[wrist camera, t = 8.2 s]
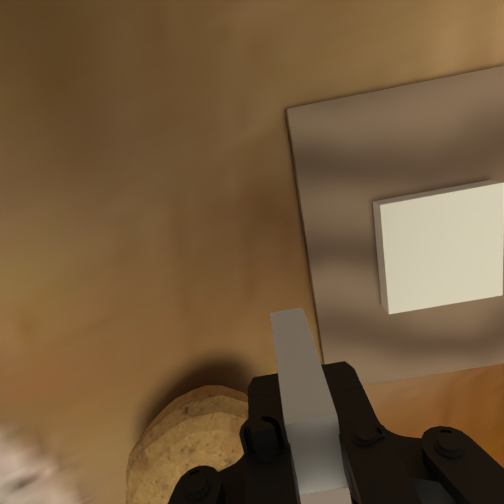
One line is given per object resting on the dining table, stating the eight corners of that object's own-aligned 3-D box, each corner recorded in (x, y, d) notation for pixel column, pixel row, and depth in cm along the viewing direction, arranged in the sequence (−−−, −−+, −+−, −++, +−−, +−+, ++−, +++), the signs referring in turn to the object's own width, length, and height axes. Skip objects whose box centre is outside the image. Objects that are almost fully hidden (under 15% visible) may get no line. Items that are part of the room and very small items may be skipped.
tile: (380, 205, 24) (504, 182, 23) (371, 201, 25) (488, 179, 25) (388, 314, 26) (502, 295, 25) (380, 304, 27) (487, 286, 27)
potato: (293, 384, 31) (308, 464, 23) (216, 493, 34) (206, 593, 27) (191, 334, 29) (171, 402, 22) (121, 453, 33) (82, 547, 25)
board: (285, 110, 24) (287, 108, 23) (526, 62, 24) (540, 58, 23) (325, 381, 31) (328, 391, 30) (516, 351, 30) (527, 359, 29)
